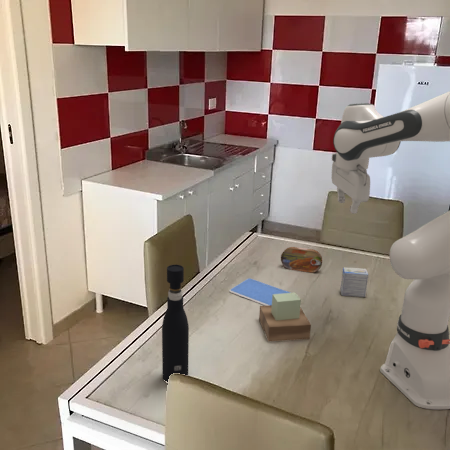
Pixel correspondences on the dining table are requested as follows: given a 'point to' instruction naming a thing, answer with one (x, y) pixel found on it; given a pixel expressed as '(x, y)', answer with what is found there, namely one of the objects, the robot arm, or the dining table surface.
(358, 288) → the medicine box
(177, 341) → the black bottle
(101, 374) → the dining table surface
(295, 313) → the sage brick
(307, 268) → the tin
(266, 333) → the walnut brick
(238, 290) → the blue rectangular panel
